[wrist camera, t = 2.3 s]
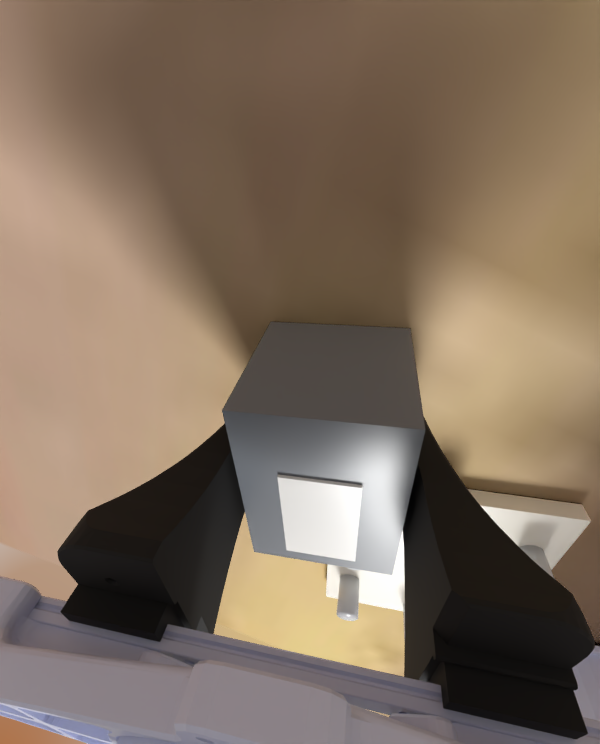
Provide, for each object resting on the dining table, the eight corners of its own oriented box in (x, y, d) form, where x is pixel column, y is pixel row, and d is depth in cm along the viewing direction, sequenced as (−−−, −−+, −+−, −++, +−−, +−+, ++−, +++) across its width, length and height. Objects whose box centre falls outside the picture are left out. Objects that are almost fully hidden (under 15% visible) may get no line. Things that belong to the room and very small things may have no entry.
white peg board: (498, 616, 22) (511, 671, 20) (327, 583, 24) (322, 631, 22) (582, 504, 15) (617, 569, 13) (333, 470, 17) (325, 523, 15)
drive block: (388, 462, 16) (392, 578, 12) (284, 450, 17) (253, 554, 13) (410, 328, 12) (425, 432, 8) (270, 321, 13) (220, 413, 9)
